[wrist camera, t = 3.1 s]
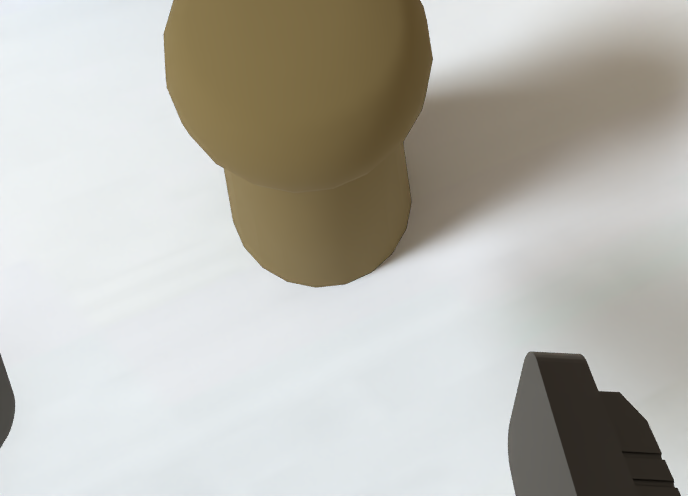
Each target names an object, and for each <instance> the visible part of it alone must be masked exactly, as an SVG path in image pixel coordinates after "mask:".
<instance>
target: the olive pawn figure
mask: <svg viewBox="0 0 688 496" xmlns="http://www.w3.org/2000/svg"><path fill="white" fill-rule="evenodd" d="M164 51H165V70H166V83H167V89H168V91H169V94H170V96H171V98H172V101H173V103H174V106H175V108H176V110H177V113H178V115H179V117H180V120H181V122H182V124H183V126H184V127H185V129H186V130H187V131H188V133H189V134H190V136H191V137H192V138H193V139H194V140H195V141H196V142H197V143H198V145H199V146H200V147H201V148H202V149H203V150H204V151H205V152H206V153H207V154H208V155H209V157H210V158H211V159H212V160H213V161H214V162H215V163H216V164H217V165H219V166H221V167H223V168H224V172H225V178H226V183H227V189H228V195H229V201H230V206H231V212H232V218H233V222H234V225H235V227H236V229H237V232H238V234H239V236H240V239H241V241H242V243H243V246H244V247H245V248H246V250H247V251H248V252H249V253H250V254H251V255H252V256H253V257H254V259H255V260H256V261H257V262H258V263H259V264H260V265H261V266H262V267H263V268H264V269H266V270H268V271H270V272H271V273H273V274H275V275H277V276H278V277H280V278H282V279H284V280H285V281H287V282H291V283H296V284H301V285H306V286H311V287H325V286H334V285H343V284H347V283H349V282H351V281H353V280H356V279H358V278H360V277H362V276H364V275H367V274H369V273H371V272H372V271H373V270H375V269H376V268H377V267H378V266H379V265H380V264H381V263H382V262H383V261H385V260H386V259H387V258H388V257H389V256H390V255H391V254H392V253H393V251H394V250H395V248H396V246H397V244H398V243H399V241H400V239H401V237H402V236H403V234H404V232H405V230H406V228H407V222H408V217H409V212H410V207H411V195H410V188H409V181H408V174H407V167H406V160H405V153H404V146H403V141H404V140H405V138H406V136H407V135H408V133H409V131H410V129H411V128H412V126H413V124H414V123H415V121H416V119H417V117H418V116H419V114H420V112H421V111H422V107H423V104H424V100H425V96H426V91H427V86H428V81H429V76H430V71H431V66H432V60H433V57H432V51H431V44H430V38H429V31H428V25H427V19H426V15H425V11H424V7H423V5H422V3H421V1H420V0H174V1H173V4H172V7H171V11H170V14H169V18H168V21H167V24H166V28H165V31H164Z"/></svg>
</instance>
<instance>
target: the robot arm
mask: <svg viewBox="0 0 688 496" xmlns="http://www.w3.org/2000/svg"><path fill="white" fill-rule="evenodd" d="M14 413H15V398H14V394H13V390H12V387H11V384H10V381H9V378H8V375H7V372H6V369H5V366H4V363H3V360H2V357H1V354H0V448H1V446H2V444H3V443H4V441H5V440H6V438H7V436H8V434H9V432H10V429H11V426H12V423H13V419H14ZM661 454H662V453H661V451H660V449H659V446H658V444H657V442H656V440H655V438H654V435H653V433H652V431H651V429H650V427H649V424H648V422H647V420H646V419H645V418H644V417H643V416H642V415H641V414H640V413H639V412H638V411H637V410H636V409H635V408H634V407H633V406H632V405H631V404H630V403H629V402H628V401H627V400H626V398H625V397H624V396H623V395H622V394H621V393H620V392H604V391H598V389H597V387H596V384H595V381H594V379H593V376H592V374H591V371H590V369H589V366H588V364H587V361H586V359H585V358H584V357H583V356H582V355H581V354H567V353H548V352H529V353H527V355H526V357H525V360H524V364H523V368H522V372H521V377H520V381H519V385H518V389H517V394H516V398H515V402H514V407H513V411H512V415H511V419H510V424H509V432H508V456H509V465H510V470H511V475H512V480H513V485H514V490H515V494H516V496H681V495H680V493H679V490H678V488H675V487H674V479H673V477H672V475H671V473H670V471H669V468H668V466H667V464H666V462H665V460H662V458H661Z"/></svg>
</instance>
